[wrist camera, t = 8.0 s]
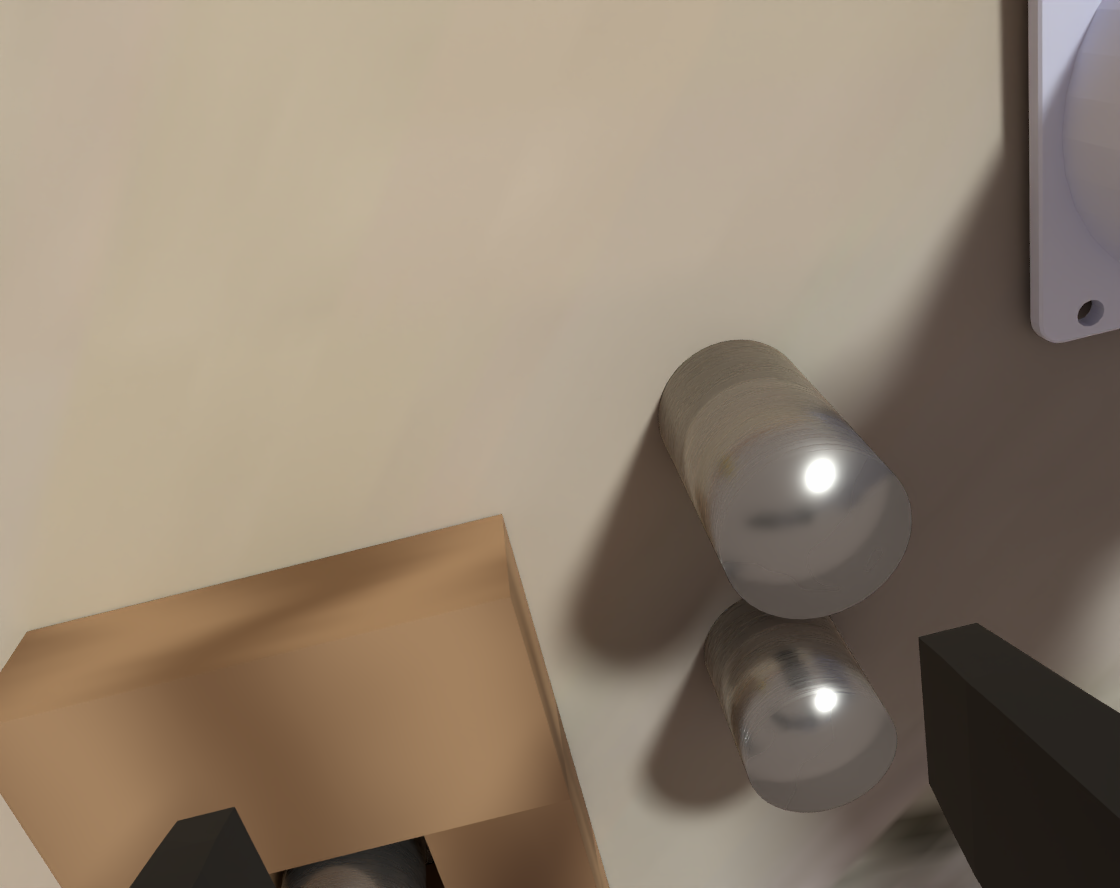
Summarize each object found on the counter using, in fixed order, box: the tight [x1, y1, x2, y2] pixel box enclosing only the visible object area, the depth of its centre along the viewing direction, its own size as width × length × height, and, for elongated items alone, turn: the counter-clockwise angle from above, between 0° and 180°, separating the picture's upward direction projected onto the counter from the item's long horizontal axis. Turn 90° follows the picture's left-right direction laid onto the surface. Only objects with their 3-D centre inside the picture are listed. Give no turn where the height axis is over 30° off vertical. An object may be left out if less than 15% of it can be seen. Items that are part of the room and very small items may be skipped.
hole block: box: [0, 514, 609, 888], centre depth 22 cm, size 10×14×3 cm
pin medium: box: [658, 340, 912, 619], centre depth 17 cm, size 3×3×5 cm
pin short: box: [704, 599, 897, 812], centre depth 21 cm, size 3×3×4 cm
